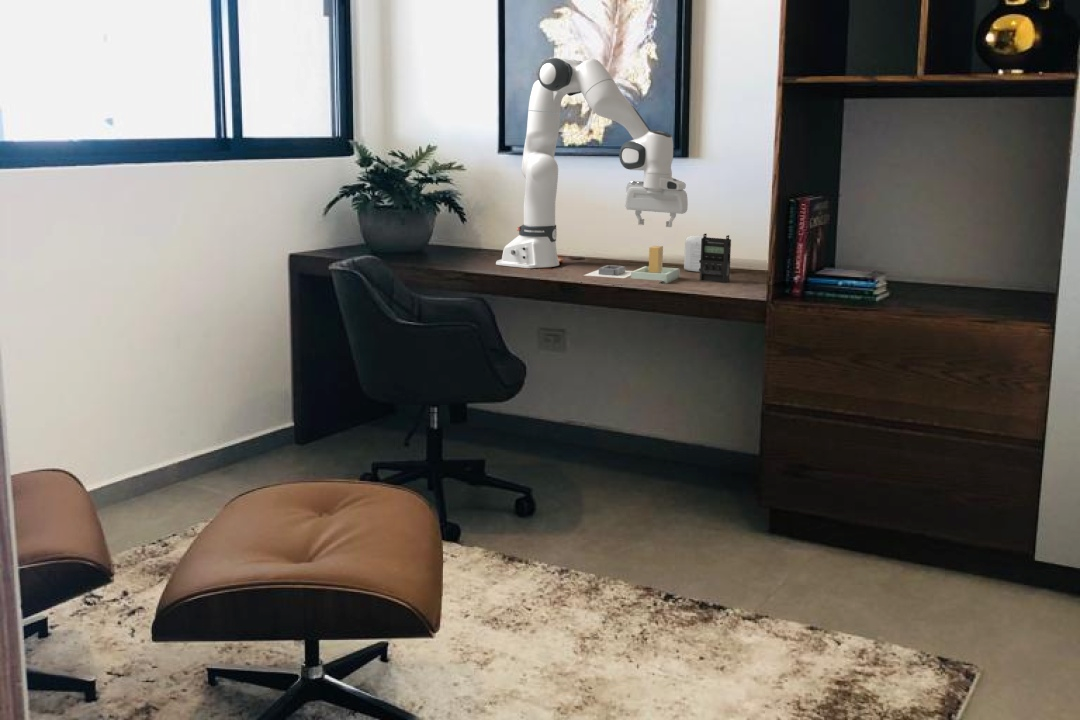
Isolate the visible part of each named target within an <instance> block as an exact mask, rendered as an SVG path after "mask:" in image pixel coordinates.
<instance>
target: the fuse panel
mask: <svg viewBox="0 0 1080 720" xmlns="http://www.w3.org/2000/svg"><path fill="white" fill-rule="evenodd" d="M632 271H633V270H626V266H623V265H615V264H614V265H613V264H610V265H609V264H607V265H603V266H601V267H599V268H598V269H596V270H593V271H591V272H589V273H586V274H583V276H586V277H600V278H615V279H626V278H628V277H631V272H632Z"/></svg>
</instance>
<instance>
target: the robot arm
mask: <svg viewBox="0 0 1080 720" xmlns="http://www.w3.org/2000/svg"><path fill="white" fill-rule="evenodd" d="M537 78H538V79H537V80H536V81H534V83H533V85H532V88H531V92H530V96H529V100H528V101H529V102H528V110H527V111H528V112H527V123H526V124H527V125H526V135H525V140H524V145H523V151H522V152H523V153H522V161H521V172H522V176H523V177H524V179H525V189H524V200H523V224H521V225H520V226H518V227H517V230H516V231H517V232H518V235H517V236H516V237H515V238H513V239H512V240H511V241H510V242H509V243H507V244H506V245H505V246H504V247H503V251H502V256H501V259H498V260H496V262H495V265H496V266H504V267H512V268H513V267H514V268H522V269H536V268H552V267H558V266H560V261H559V257H558V252H557V243H556V242H557V235H558V233H557V224H556V200H557V193H558V183H559V182H558V180H559V166H558V165H559V164H558V162H557V161H556V159H555V155H556V147H557V143H558V139H559V134H560V124H561V123H560V122H561V121H560V120H561V112H562V111H561V108H562V107H561V106H562V100H563V98H564V97H565V96H566V95H567V96H569V97H571V96H574V95H577V94H581V95H583V98H584V100H585V101H586V103H587V105H588V106H589V108H590V109H591V110H592V111H593V112H594V113H595V114H596V116H599V117H600V118H605V119H607V120H611V121H614V122H616V123H618V124H619V125H621V126H622V127H623V128H625V129H626V131H627V132H628V133H629V135H630V137H631V138H632V140H628V141H625V142H624V143H623V144H622V145H621V147H620V149H619V154H618V158H619V162H620V164H621V165H622V167H623V168H624V169H626V170H630V171H644V172H643V181H641V180H640V181H638V180H637V181H636V180H631V181H630V182H628V183H626V187H625V188H626V189H625V191H626V195H625V196H626V197H625V203H624V207H625V209H626V210H628V211H635V213H634V214H635V216H636V218H637V220H638V221H637V226H638V225H639V226H644V225H645V219H644V218H643V217H642V215H641V214H642V212H655V213H656V212H657V213H667V214H669V217H670V219H668V221H665V227H666V228H672V227H673V222H674V220H675V218H676V217H677V214H681V215H683V214H686V213H687V212H688V205H689V204H688V193H687V192H686V191H685V189H686V188H687V187H686V186H687V184H686V182H684V181H682V180H680V179H676V178H675V177H672V175H673V171H672V164H673V160H674V159H673V158H674V142H673V141H674V140H673V137H672V134H670V133H669V132H666V131H664V130H658V129H652V130H651V129H650V128H649V126H648V125H647V122H645V120H644V119H643V117H642V116H641V115H640V112H638V111H637V109H636V108H635V106H633V105H632V103H631V102H630V101H629V100H628V99H627V98H626V96H625V95H624V94H623V93H622V91H621V90H620V88H619V86H618V84H616V81H615V80H614V78H613V77H612V75H611V73H610V72H609V71H608V70H607V69H606V67H605V66H604V65H603V64H602V63H601V62H600V61H599V60H598V59H594V58H589V59H586V60H583V61H581V60H576V59H572V58H558V57H551V58H548V59H545V60H544V61H542V63H541V64H540V66H539V67H538V73H537Z"/></svg>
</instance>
